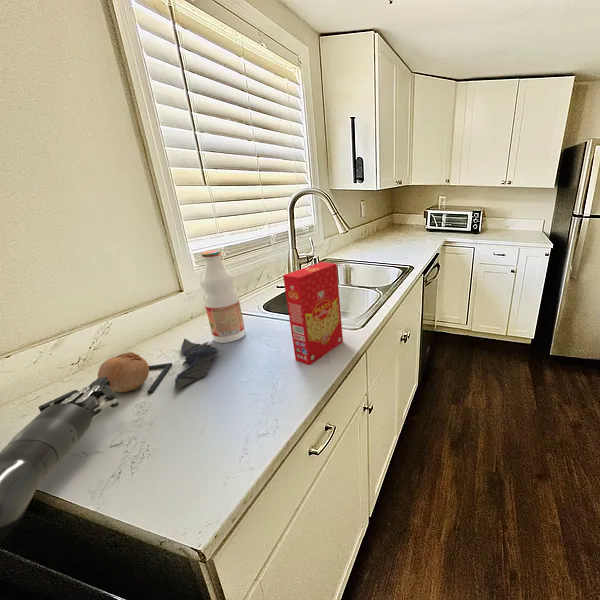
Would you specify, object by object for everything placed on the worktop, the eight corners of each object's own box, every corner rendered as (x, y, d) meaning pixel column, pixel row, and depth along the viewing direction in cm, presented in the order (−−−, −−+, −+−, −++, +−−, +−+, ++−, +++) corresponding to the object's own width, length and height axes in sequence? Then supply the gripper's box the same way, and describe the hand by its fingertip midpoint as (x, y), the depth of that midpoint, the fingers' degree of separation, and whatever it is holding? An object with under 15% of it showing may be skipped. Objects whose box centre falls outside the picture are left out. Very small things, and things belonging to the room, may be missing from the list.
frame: (82, 404, 75) (81, 401, 74) (112, 373, 86) (111, 370, 86) (152, 393, 78) (151, 390, 78) (172, 365, 90) (171, 362, 89)
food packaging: (309, 365, 89) (298, 277, 80) (295, 360, 91) (283, 275, 82) (342, 342, 101) (336, 263, 92) (329, 338, 103) (322, 261, 94)
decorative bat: (216, 368, 80) (169, 383, 76) (221, 382, 81) (175, 397, 77) (216, 323, 104) (180, 333, 100) (220, 335, 106) (184, 344, 102)
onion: (149, 388, 85) (159, 351, 85) (134, 401, 76) (145, 360, 76) (104, 383, 81) (115, 344, 82) (83, 396, 73) (95, 352, 73)
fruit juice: (232, 345, 100) (212, 256, 90) (206, 342, 102) (184, 254, 92) (252, 331, 108) (235, 248, 98) (228, 329, 111) (209, 247, 101)
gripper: (87, 412, 57) (133, 361, 72) (-9, 427, 54) (61, 371, 69) (102, 445, 60) (143, 389, 75) (11, 461, 56) (74, 400, 72)
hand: (104, 380), depth 72 cm, fingers closed
